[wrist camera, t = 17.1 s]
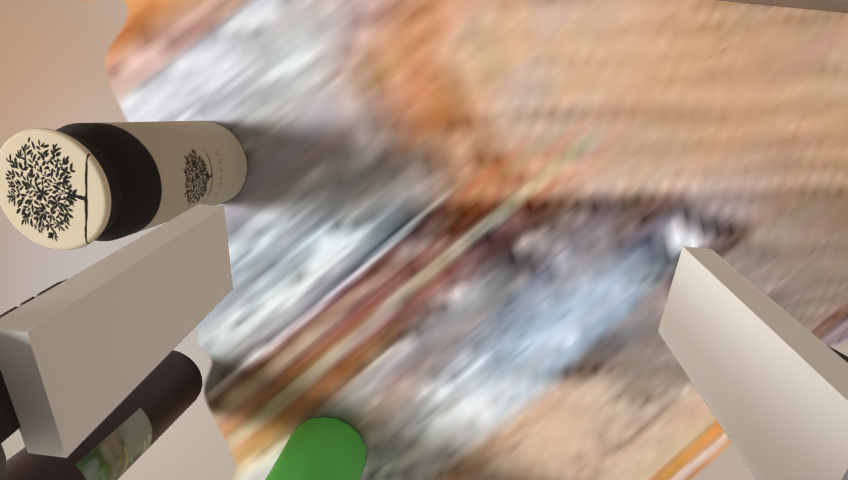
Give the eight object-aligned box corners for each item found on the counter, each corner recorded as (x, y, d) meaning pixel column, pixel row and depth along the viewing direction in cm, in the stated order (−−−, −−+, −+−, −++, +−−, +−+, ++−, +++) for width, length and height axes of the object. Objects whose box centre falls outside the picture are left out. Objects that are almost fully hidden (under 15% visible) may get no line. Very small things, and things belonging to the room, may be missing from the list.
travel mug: (164, 186, 47) (-18, 227, 30) (179, 108, 45) (-7, 104, 27) (238, 214, 47) (99, 272, 30) (257, 138, 45) (120, 152, 27)
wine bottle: (175, 414, 54) (-169, 759, 25) (132, 369, 53) (-278, 674, 24) (217, 383, 52) (-102, 713, 23) (172, 336, 51) (-217, 620, 22)
